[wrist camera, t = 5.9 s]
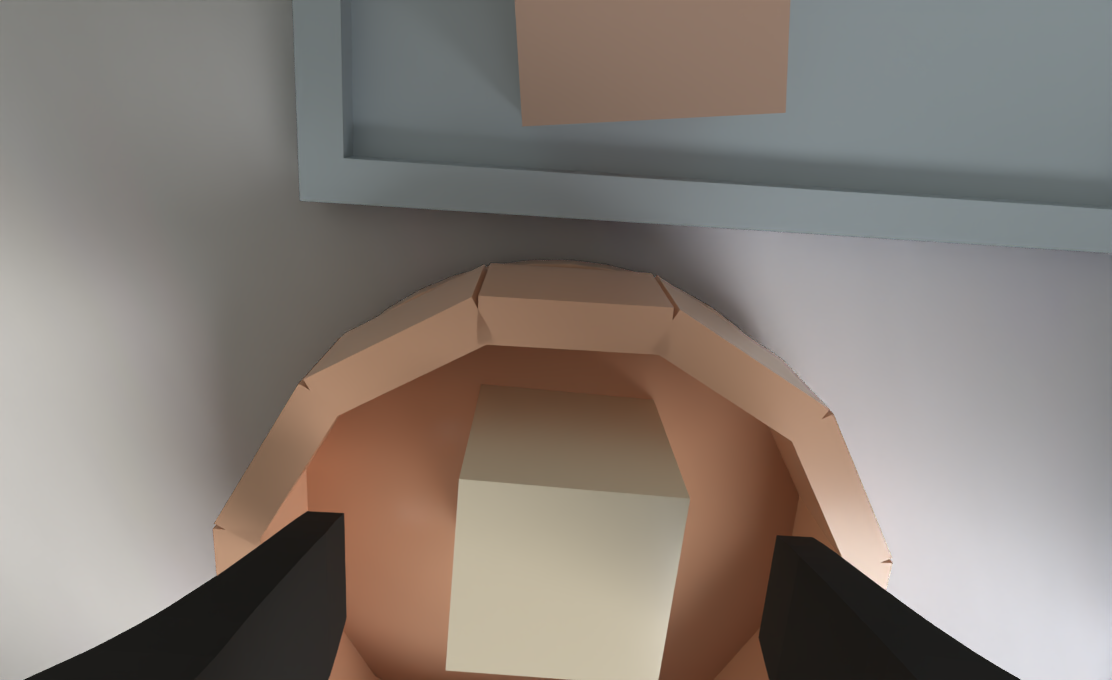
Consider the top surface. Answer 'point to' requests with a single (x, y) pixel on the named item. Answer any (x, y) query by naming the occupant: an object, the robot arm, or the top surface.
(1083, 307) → the top surface
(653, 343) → the bowl
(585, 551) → the cream matte cube
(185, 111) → the top surface
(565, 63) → the cardboard tan cube
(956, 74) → the parts tray
